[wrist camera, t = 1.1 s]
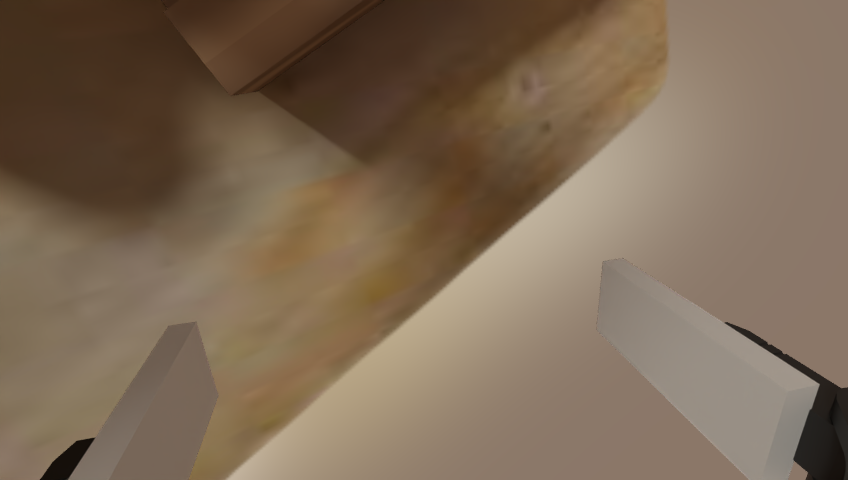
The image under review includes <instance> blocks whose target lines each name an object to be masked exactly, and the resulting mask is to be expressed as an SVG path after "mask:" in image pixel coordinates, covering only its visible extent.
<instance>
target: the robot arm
mask: <svg viewBox="0 0 848 480" xmlns="http://www.w3.org/2000/svg"><path fill="white" fill-rule="evenodd" d="M597 331H598V332H599V333H600V334H601V335H602V336H603V337H604V338H605V339H606V340H607V341H608V342H609V343H610V344H611V345H613V347H614V348H615V349H616V350H617V351H618V352H619V353H620V354H621V355H622V356H623V357H625V359H627V360H628V361H629V362H630V363H631V364H632V365H633V366H634V367H635V368H636V369H637V370H638V371H639V372H640V373H641V374H642V375H643V376H644V377H645V378H646V379H647V380H648V381H649V382H650V383H651V384H652V385H653V386H654V387H655V388H656V389H657V390H658V391H659V392H660V393H661V394H662V395H663V396H664V397H665V398H666V399H667V400H668V401H669V402H670V403H671V404H672V405H673V406H674V407H675V408H677V410H678V411H680V412H681V413H682V414H683V415H684V416H685V417H686V418H687V419H688V420H689V421H690V422H691V423H692V424H693V425H694V426H695V427H696V428H697V429H698V430H699V431H700V432H701V433H702V434H703V435H704V436H705V437H706V438H707V439H708V440H709V441H710V442H711V443H712V444H713V445H714V446H715V447H716V448H717V449H718V450H719V451H720V452H721V453H722V454H723V455H724V456H725V457H726V458H727V459H728V460H730V462H731V463H732V464H733V465H735V466H736V467H737V468H738V469H739V470H740V471H741V472H742V473H743V474H744V475H745V476H746V477H747V478H748V479H749V480H788V477H789V474H790V472H791V468H792V466H793V463H794V461H795V462H796V463H797V464H799V465H800V466H801V467H802V468H803V469H805V470H806V471H807V472H808V475H807V477H806V480H848V388H840V387H838V386H837V385H835V384H834V383H832V382H830V381H829V380H827V379H825V378H824V377H822V376H821V375H819V374H817V373H816V372H814V371H813V370H811V369H809V368H808V367H806V366H805V365H803V364H801V363H800V362H798V361H797V360H795V359H793V358H792V357H790V356H789V355H787V354H783V353H782V351H781V350H779V349H777V348H776V347H774V346H773V345H768V344H767V342H766V341H764V340H763V339H761V338H760V337H758V336H756V335H755V334H753V333H752V332H750V331H748V330H746V329H743V328H740V327H738V326H735V325H733V324H730V323H728V322H725V323H723V322H722V321H720V320H719V319H717V318H715V317H714V316H712V315H711V314H709V313H708V312H706V311H705V310H703V309H701V308H700V307H698V306H697V305H695V304H694V303H692V302H691V301H689V300H688V299H686V298H684V297H683V296H681V295H680V294H678V293H676V292H675V291H673V290H672V289H670V288H669V287H667V286H666V285H664V284H662V283H661V282H659V281H658V280H656V279H655V278H653V277H651V276H650V275H648V274H647V273H645V272H644V271H642V270H641V269H639V268H638V267H636V266H634V265H633V264H631V263H630V262H628V261H627V260H625V259H624V258H622V259H616V260H608V261H603V266H602V276H601V287H600V298H599V307H598V318H597ZM217 398H218V393H217V389H216V386H215V383H214V379H213V376H212V373H211V369H210V366H209V363H208V359H207V356H206V353H205V349H204V346H203V343H202V339H201V336H200V333H199V329H198V326H197V323H196V322H191V323H184V324H177V325H170V326H168V327H167V329H166V331H165V332H164V334H163V335H162V337H161V338H160V340H159V341H158V343H157V344H156V346H155V347H154V349H153V350H152V352H151V353H150V355H149V357H148V358H147V360H146V361H145V363H144V364H143V366H142V367H141V369H140V370H139V372H138V373H137V375H136V376H135V378H134V379H133V381H132V383H131V384H130V386H129V387H128V389H127V390H126V392H125V393H124V395H123V396H122V398H121V399H120V401H119V402H118V404H117V405H116V407H115V409H114V410H113V412H112V413H111V415H110V416H109V418H108V419H107V421H106V422H105V424H104V425H103V427H102V428H101V430H100V431H99V433H98V435H97V436H96V437H95V438H90V439H84V440H79V441H76V442H75V443H74V444H73V445H72V446H70V447H69V448H68V449H67V450H66V451H65V452H63V453H62V454H61V455H60V456H59V457H58V458H57V459H55V460H54V461H53V462H52V464H51V465H50V467H49V468H48V469H47V471H46V472H45V473H44V475H43V476H42V478H41V479H40V480H188V479H189V477H190V474H191V471H192V468H193V465H194V463H195V460H196V457H197V454H198V451H199V449H200V446H201V443H202V440H203V437H204V435H205V432H206V429H207V426H208V423H209V421H210V418H211V415H212V412H213V409H214V407H215V404H216V401H217Z"/></svg>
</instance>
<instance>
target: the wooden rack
mask: <svg viewBox="0 0 848 480" xmlns="http://www.w3.org/2000/svg"><path fill="white" fill-rule="evenodd" d="M161 1H162V2H163V3H164V5H165V6H166V7H167V8H168V9H167V10H165V11H164V12H163V13H164V14H165V15H166V16H167V18H168V19H169V20H170V21H171V23H172V24H173V25H174V26H175V28H176V29H177V30H178V31H179V33H180V34H181V35H182V36H183V38H184V39H185V40H186V41H187V43H188V44H189V45H190V46H191V48H192V49H193V50H194V51H195V53H196V54H197V55H198V56H199V58H200V59H201V60H202V61H203V63H204V64H205V65H206V66H207V68H208V69H209V70H210V71H211V73H212V74H213V75H214V76H215V78H216V79H217V80H218V81H219V83H220V84H221V85H222V86H223V88H224V89H225V90H226V91H227V93H228V94H229V95H230V96H233V95H239V94H245V93H250V92H256V91H258V90H260V89H261V88H263V87H264V86H265V85H267V84H268V83H270V82H271V81H272V80H274V79H275V78H276V77H278V76H279V75H281V74H282V73H283V72H285V71H286V70H288V69H289V68H290V67H292V66H293V65H295V64H296V63H297V62H299V61H300V60H302V59H303V58H304V57H306V56H307V55H309V54H310V53H311V52H313V51H314V50H316V49H317V48H318V47H320V46H321V45H323V44H324V43H325V42H327V41H328V40H330V39H331V38H332V37H334V36H335V35H337V34H338V33H339V32H341V31H342V30H344V29H345V28H346V27H348V26H349V25H351V24H352V23H353V22H355V21H356V20H358V19H359V18H360V17H362V16H363V15H365V14H366V13H367V12H369V11H370V10H372V9H373V8H374V7H376V6H377V5H379V4H380V3H381V2H383V1H384V0H161Z"/></svg>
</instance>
